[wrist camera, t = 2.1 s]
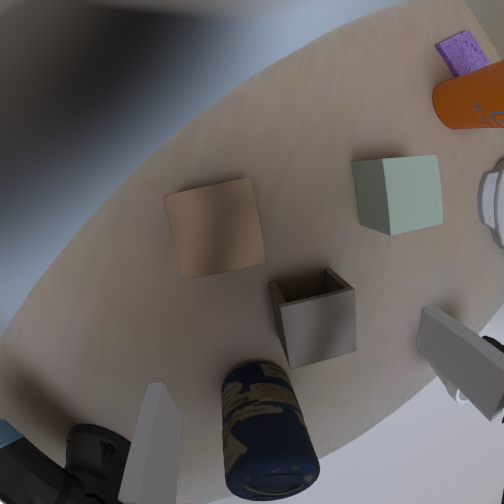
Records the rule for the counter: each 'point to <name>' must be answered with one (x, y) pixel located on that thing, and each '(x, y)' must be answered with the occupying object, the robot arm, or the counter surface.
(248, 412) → the canister
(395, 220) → the cover green
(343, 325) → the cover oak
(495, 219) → the lid
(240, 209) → the cover walnut
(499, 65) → the shaker bottle
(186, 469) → the counter surface
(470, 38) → the sponges
